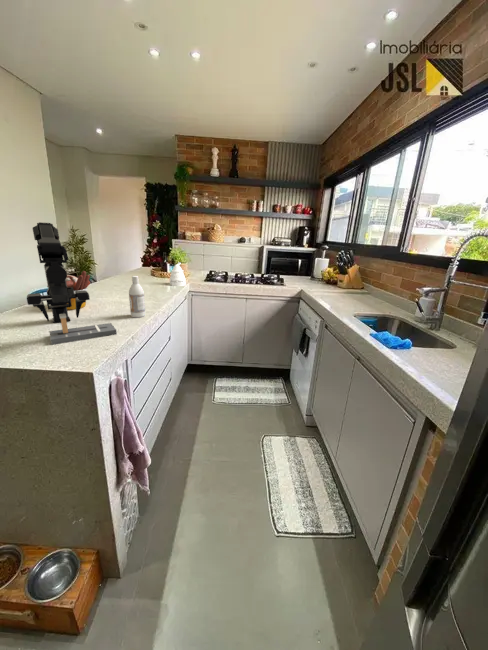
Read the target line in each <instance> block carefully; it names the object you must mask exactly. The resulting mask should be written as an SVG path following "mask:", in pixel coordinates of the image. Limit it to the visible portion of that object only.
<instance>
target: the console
mask: <svg viewBox="0 0 488 650" xmlns="http://www.w3.org/2000/svg"><path fill="white" fill-rule="evenodd" d="M48 332H49V338H50V345H51V346H52V345H58V344H64V343H71V342H78V341H85V340H89V339H96V338H101V337H102V338H103V337H109V336H116V335H117V332H118V331H117V329H116V328H115V327H114V325H113V324H112V323H111V322H108V323H101V324H92V325H86V326H79V327H77V326H76V327H72V328H71V327H70V328H68V333H63V330H62V329H55V330H50V331H48Z"/></svg>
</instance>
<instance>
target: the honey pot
mask: <svg viewBox="0 0 488 650" xmlns="http://www.w3.org/2000/svg"><path fill="white" fill-rule="evenodd" d="M181 264H182V262H177V264H175V265H174V266H173V268H172V269H171V273H170V277H169V286H172V287H184V286H187V284H186V281H187V280H186V276H185V274H184V273H185V270H183V269H182V267H181Z"/></svg>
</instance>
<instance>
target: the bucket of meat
mask: <svg viewBox="0 0 488 650" xmlns="http://www.w3.org/2000/svg"><path fill="white" fill-rule="evenodd" d="M90 279H91V276H90V274H87V271H85V270H83V271H82V272H81V275H78V276H75V275H70V274H67V277H66V284H67V288H68V287H73V289H74V293H75V291H82V290H86V291H87V292H88V287H89V285H90V284H91V282H90ZM46 287H47V288H48V284H47V286H46ZM86 303H87V301H86V302H83V304H82V305H81V308H80V310H81V309H84V307H85V306H86ZM67 304H68V303H67ZM71 305H72V306H71V307H67V311H76V300H75V298H72V299H71Z"/></svg>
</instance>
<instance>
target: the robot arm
mask: <svg viewBox="0 0 488 650" xmlns="http://www.w3.org/2000/svg"><path fill="white" fill-rule="evenodd" d="M32 233H33V238H34V241H36V242H37V244H36V249H37V254H38V258H39V263H40V264H44V265H43V268H44V272H45V273H44V274H45V278H46V279H45V280H46V283H47V285H48V287H47V290H46V295H41V293H40V292H39V293H28V294H27V295H26V301H27V302H26V303H27V305H29V306H32V307H34V308H38V310H40V312H42V314H43V316H44V318H45V319H46V321H47V322H50V318H49V317H50V316H49V315H48V311H47V310H51V312H52V317H53V318H52V323H53V324H56V323H61V319H60V316H59V314H66V322H70V321H71V318H70V316H69V313H68V310H67V307H71V306H72V305H71V299H72V298H75V300H76V309H75V315H76V318H77V319H78V318H79V316H80V311H81V309H82V308H81V305H82V304H83V302H86V303H87V301H89V300H90V294H89V292H88V290H87V291H86V290H82V291H75V293H74V289H73V287H68V288H67V284H66V277H67V275H68V273H67V271H66V268H65V267H64V266H65V265H64V264H67V263H68V261H69V257H68V252H67V249H66V248H65V246H64V245H62V243H61V241H60V235H59V229H58V228H57V227H55V226H54V225H53V223H51V222H37V223H36V225H35V226H33V227H32ZM44 301H45V302H46V305H47V306H45V304H44ZM67 303H68V304H67ZM46 307H47V308H46ZM80 308H81V309H80Z"/></svg>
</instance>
